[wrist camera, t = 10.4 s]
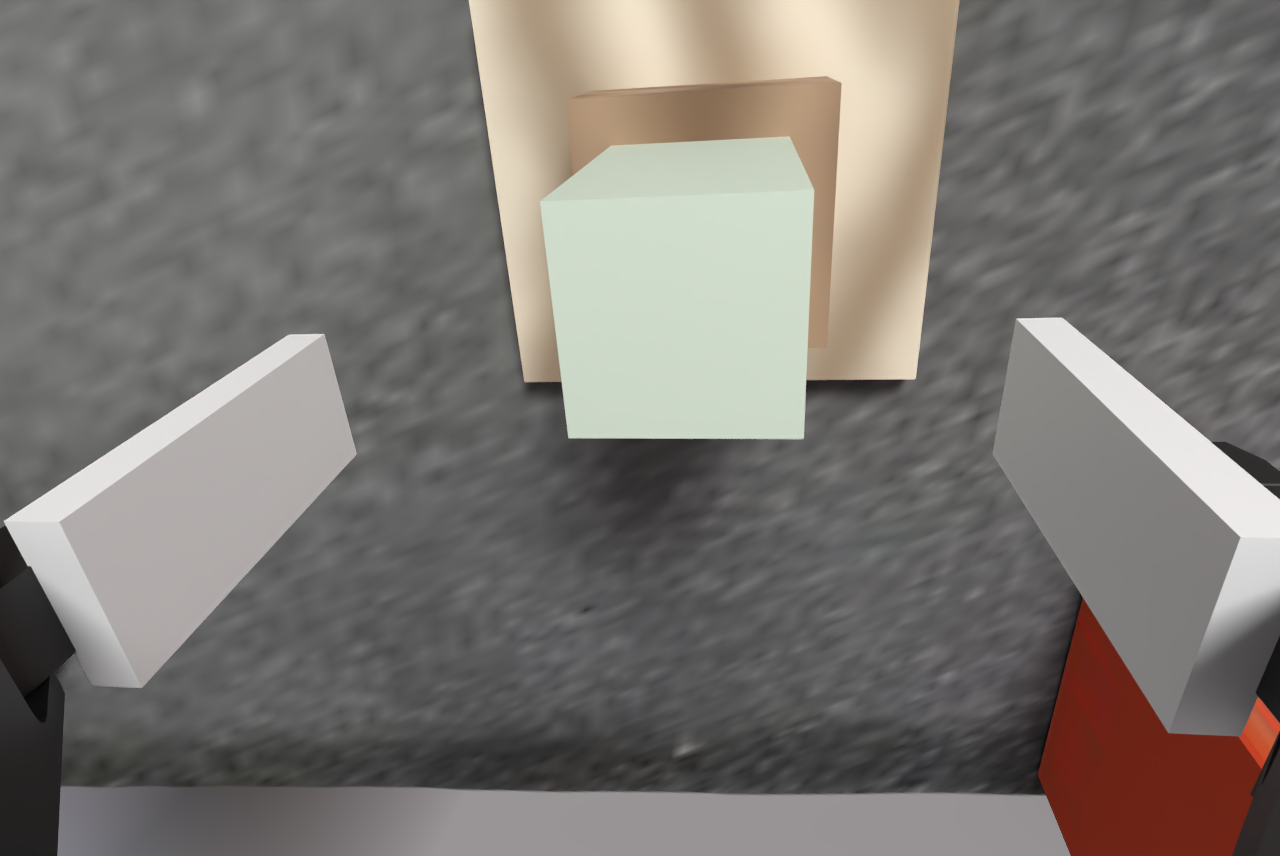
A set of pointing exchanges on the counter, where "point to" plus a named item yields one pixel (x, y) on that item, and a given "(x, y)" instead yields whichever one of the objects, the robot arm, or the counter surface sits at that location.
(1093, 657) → the file binder
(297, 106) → the counter surface
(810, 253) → the sage pillar
